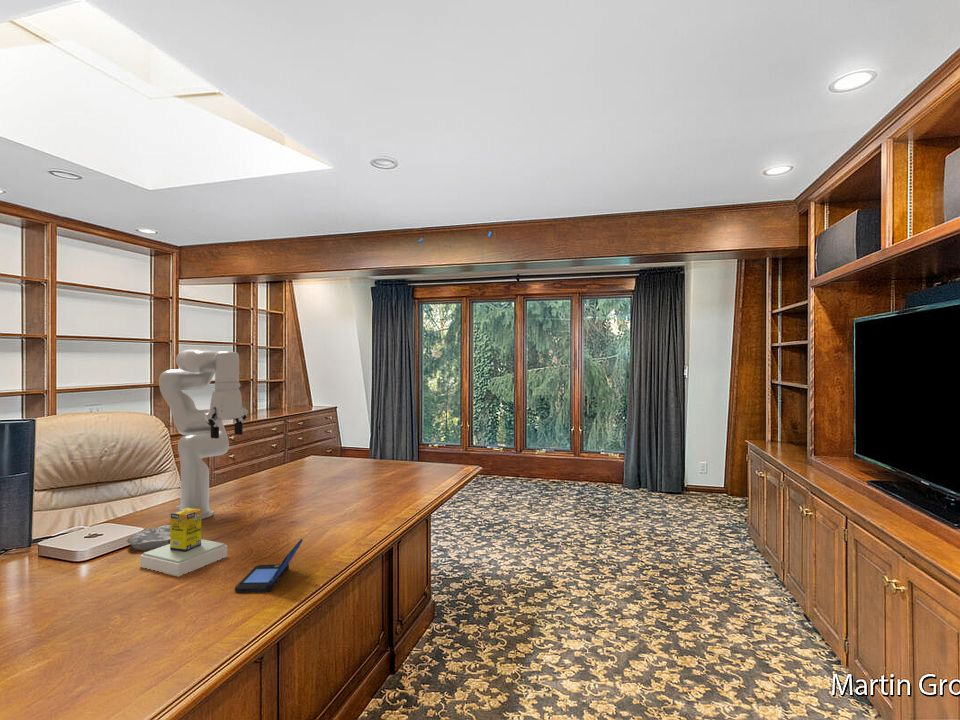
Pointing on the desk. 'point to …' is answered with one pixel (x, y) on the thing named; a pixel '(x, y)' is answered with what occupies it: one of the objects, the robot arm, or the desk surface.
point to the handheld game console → (265, 575)
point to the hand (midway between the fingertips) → (226, 436)
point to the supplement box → (185, 529)
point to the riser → (183, 558)
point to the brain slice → (151, 538)
